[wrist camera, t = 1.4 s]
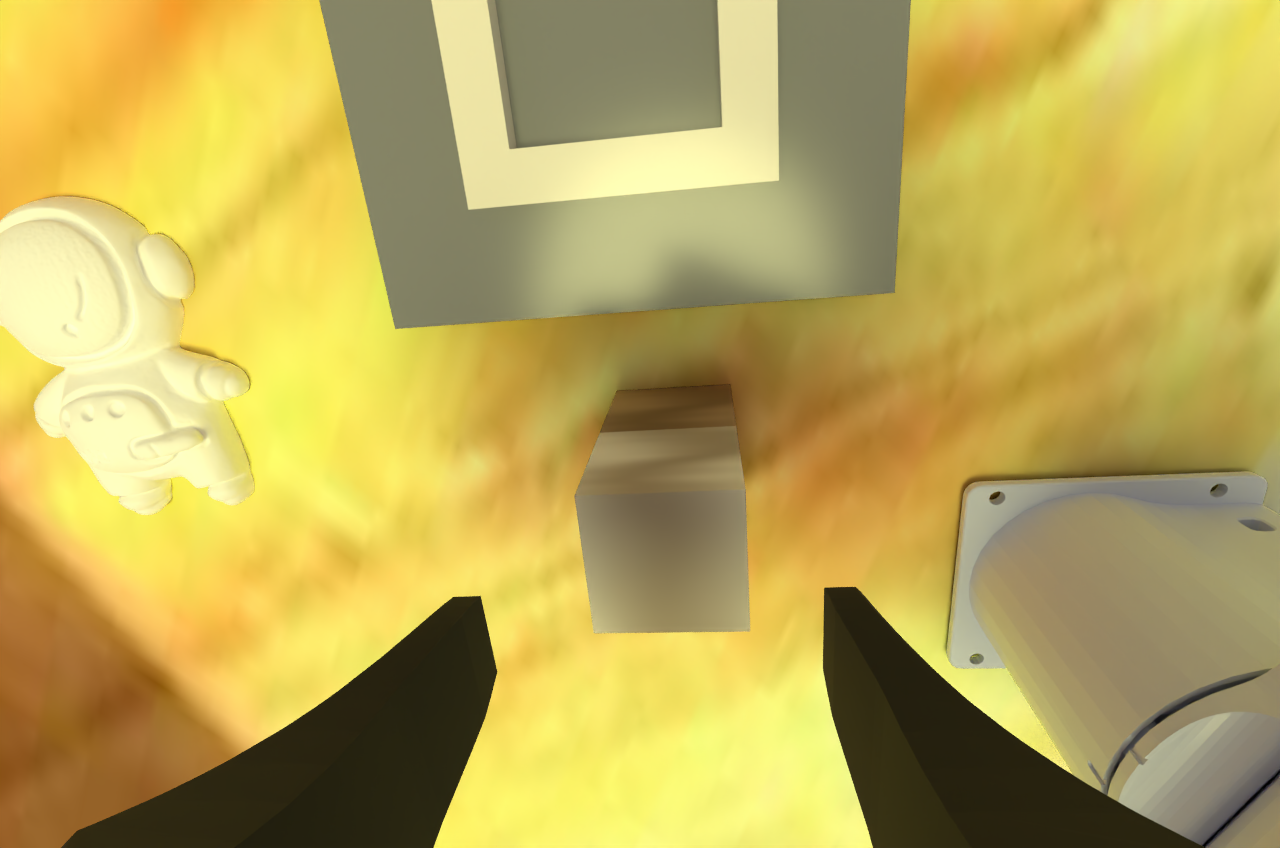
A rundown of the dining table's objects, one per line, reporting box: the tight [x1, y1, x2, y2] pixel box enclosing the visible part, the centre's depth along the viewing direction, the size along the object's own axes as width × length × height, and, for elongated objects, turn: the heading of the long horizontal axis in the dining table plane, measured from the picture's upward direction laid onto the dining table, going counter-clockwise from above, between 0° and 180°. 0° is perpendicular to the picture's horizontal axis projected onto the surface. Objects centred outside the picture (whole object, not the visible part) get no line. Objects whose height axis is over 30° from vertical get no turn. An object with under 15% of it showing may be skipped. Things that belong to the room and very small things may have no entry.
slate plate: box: [319, 0, 911, 329], centre depth 17 cm, size 16×16×2 cm
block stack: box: [575, 384, 750, 633], centre depth 19 cm, size 4×4×8 cm
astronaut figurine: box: [0, 196, 255, 515], centre depth 23 cm, size 9×12×3 cm
